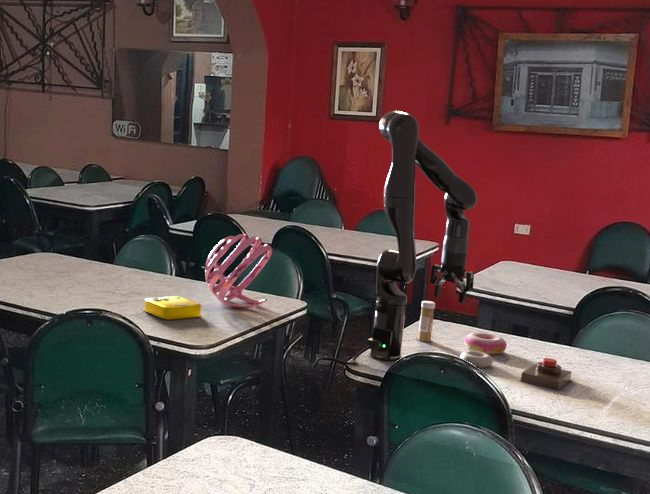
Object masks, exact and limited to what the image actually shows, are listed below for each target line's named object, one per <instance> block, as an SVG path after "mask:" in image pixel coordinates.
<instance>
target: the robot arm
mask: <svg viewBox="0 0 650 494" xmlns="http://www.w3.org/2000/svg"><path fill="white" fill-rule="evenodd" d="M418 123H419V122H418V121H417V119H416V118H415V116H413V115H412V114H410V113H407V112H403V111H399V110H398V111H397V110H394V111H388V112H386V113H385V114H384V115H382V117H381V119H380V121H379V126H378V127H379V132H380V135H381V136H382V137H383V138H384V140H386V141H387V142H389V143H390V144H391V159H392V160H391V166H390V169H389V172H388V174H387V177H386V180H385V184H384V187H383V211H384V215H385V218H386V219H387V221H388V223H389V226H390V227H391V229H392V231H393V233H394V235H395V238H396V242H397V243H396V244H397V250H395V249H394V250H393V249H385V250H383V251H382V252H381V254H380V255H379V257H378V260H377V264H376V277H375V278H376V279H375V293H376V302H375V310H374V321H373V329H372V337H370V338H367V340H366V347H364V348H363V349H362V350H360V351H359V352H358V353H356V355H354V356H353V358H352V359H351V361H345V360H341V359H339V358H336V357H330V356H329V357H328V356H318V357H317V359H316V360H315V362H314V364H313V365H312V369H315V368H316V367H317V365H318V364H319V362H320V361H333V362H336V363H340V364H342V365H346V366H355V365H356V364H357V363H356V359H357V358H359V357H360V356H361V355H363V354H364V353H366V351H368V350H370V354H369V355H370V357H371V358H375V359H379V360H383V361H387V362H388V361H396V360H400V359H401V357H402V347H403V346H402V345H403V338H404V337H403V336H404V328H405V319H406V311H407V302H408V296H407V294H406V293H405V292H404V291H402V290H401V289H400V288H399V287H398V285H397V283H400V284H409V283H411V282H412V281H413V280H414V278H415V276H416V272H417V250H416V237H415V208H416V167H417V168H418V169H419V171H420V172H421V173H423V175H424V176H425V177H426V178H427V179H428V181H429V182H430V183H431V184H432V185H433V186H434V187H435V188H436V189H437V190H439V191H440V192H443V193H445V194H444V212H445V218H446V224H445V225H446V226H445V233H444V239H443V242H442V243H443V245H442V252H441V260H440V261H441V265H439V264H433V265H432V266H431V270H430V275H429V283H430V284H432V285H433V286H434V289H433V296H434V298H435V299H440V298H441V295H442V285H443V284H444V282H446V283H447V282H449V283H452V284H455V285H456V286H457V287H458V289H459V290H460V291H459V292H458V293H459V295H458V302H457V303H458V304H459V305H463V304H465V302H466V299H467V292H471V291H473V290H474V281H475V279H474V278H475V273H474V271H466V265H467V257H468V247H469V232H470V231H469V230H470V220H469V218H468V217H466V215H465V211H468V210H472V209H473V208H474V207H475V206H476V205H477V202H478V196H477V193H476V191H475V190H474V188H473V187H472V186H471V185H470V184H468V182H466V180H464V179H463V178H461V177H460V176H459V175H457V174H456V173H455V172H454V171H453V169H452V168H451V167H450V166H449V164H447V162H446V161H445V160H444V159H442V157H441V156H440V155H438V154H437V153H436V152H434V150H432V149H431V148H429V147H428V146H427V145H426V144H424V142H422V140H421V139H420V138H419V124H418ZM439 272H440V274H441V275H439ZM464 278H465V279H464ZM399 358H400V359H399Z"/></svg>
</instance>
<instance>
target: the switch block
mask: <svg viewBox="0 0 650 494" xmlns="http://www.w3.org/2000/svg"><path fill="white" fill-rule="evenodd" d="M542 364H543V361H539V362H537V363H534V364H533V365H531V366H530V367H528V368H526V369H525V370H524V371H522V372H521V376H520V382H523V383H527V384H531V385H535V386H539V387H542V388H543V387H544V388H546V389H547V388H548V389H552V390H555V391H559V390H560V389H561V388H562V387H564V386H566V384H568V383H569V381H571V379H572V371H570V370H566V369H563V367H562V366H561V365H560V364H557V365H556V368H551V367H546V366H543V365H542Z"/></svg>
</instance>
